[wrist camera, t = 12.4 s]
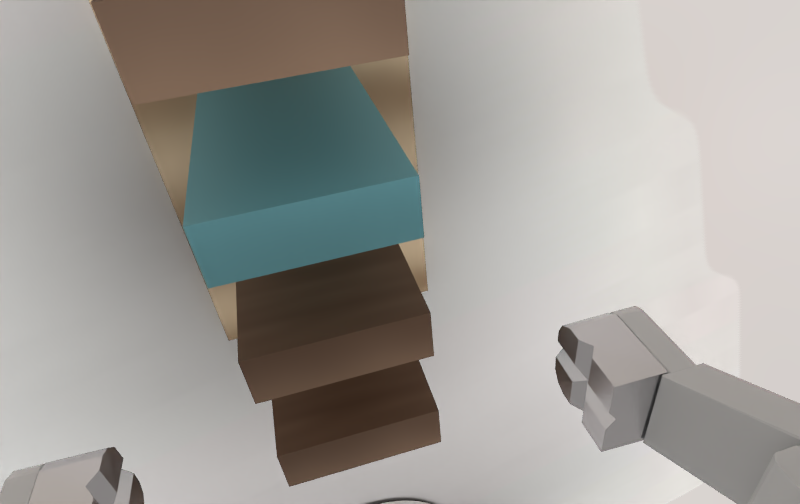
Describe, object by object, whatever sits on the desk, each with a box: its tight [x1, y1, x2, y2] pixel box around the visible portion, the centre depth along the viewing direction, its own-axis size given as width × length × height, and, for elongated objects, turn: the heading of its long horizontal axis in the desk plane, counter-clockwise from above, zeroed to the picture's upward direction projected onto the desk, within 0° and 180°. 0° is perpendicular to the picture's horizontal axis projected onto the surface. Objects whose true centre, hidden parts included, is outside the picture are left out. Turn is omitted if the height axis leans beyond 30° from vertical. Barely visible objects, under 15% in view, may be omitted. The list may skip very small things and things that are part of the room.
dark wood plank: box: [272, 360, 441, 487], centre depth 25 cm, size 2×6×12 cm, turn 96°
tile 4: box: [236, 244, 434, 404], centre depth 22 cm, size 2×6×12 cm, turn 96°
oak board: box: [89, 0, 428, 340], centre depth 24 cm, size 27×12×1 cm, turn 6°
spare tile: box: [183, 66, 424, 289], centre depth 19 cm, size 2×6×12 cm, turn 96°
